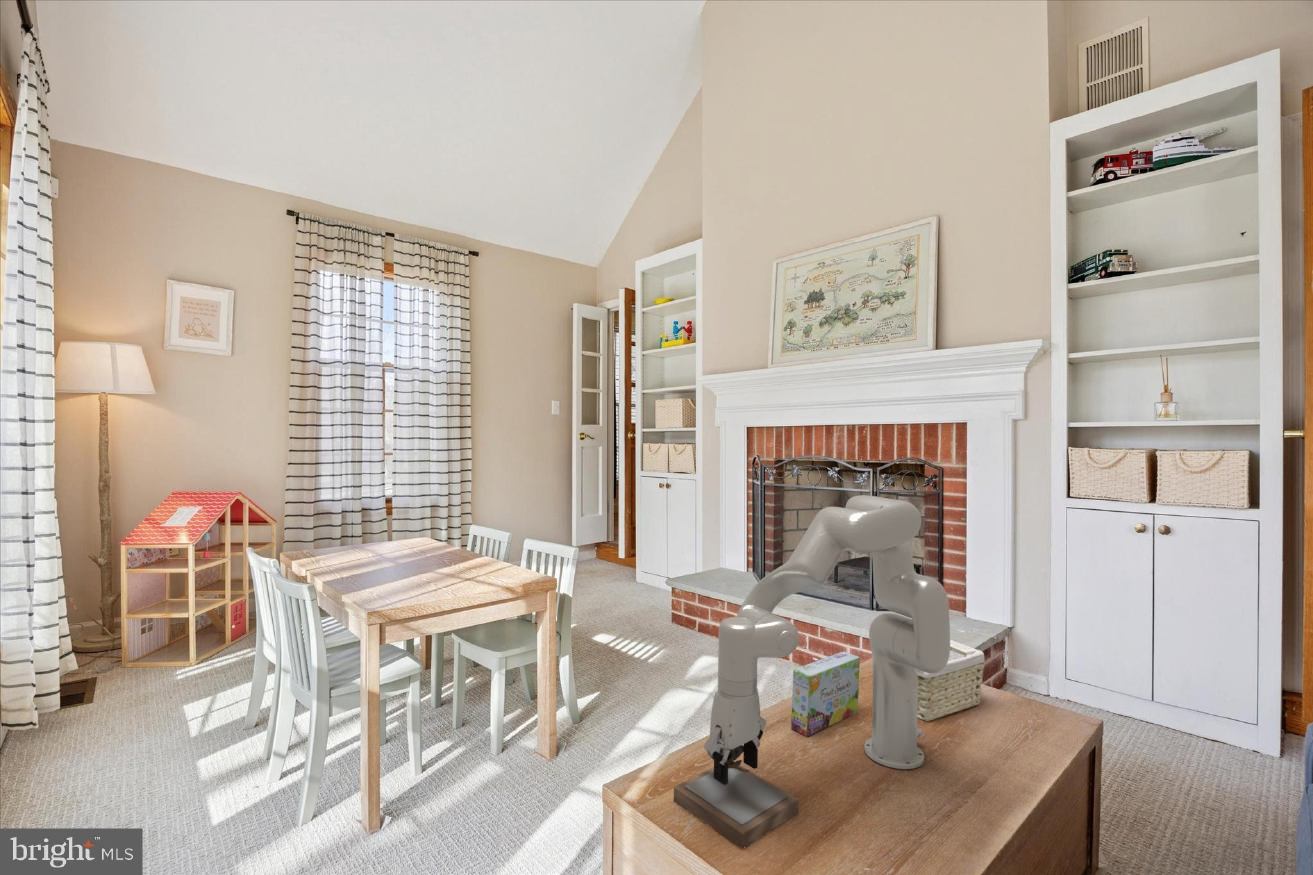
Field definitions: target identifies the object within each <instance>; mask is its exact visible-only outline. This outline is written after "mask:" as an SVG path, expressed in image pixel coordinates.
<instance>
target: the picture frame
mask: <svg viewBox="0 0 1313 875" xmlns="http://www.w3.org/2000/svg"><path fill="white" fill-rule="evenodd" d="M738 767H740V768H743V769H747V768H746V767H744V766H742V765H741V764H740V765H739V766H738ZM799 800H800V799H799V798H798V797H796V796H795V795H793V794H791V793H789V792H787V791H786V790H784V789H782V788H781V787H779V786H777V785H775V783H772V782H770V781H769V780H767V779H765V778H763V777H761V776H760V775H757V774H756V773H754V772H752V771H751V770H749V772H742V771H740V770H738V769H734V768H732V769H731V768H729V769H728V784H726V785H724V784H722V783H720V782H719V781H717V780H716V779H714V766H713V767H711V768H709V769H707V770H705V771H703V772H701V773H699V774H697V775H695V776H693V777H691V778H689V779H687V780H685V781H683V782H681V783H680V784H679V783H678V784H677V785H676V786H673V801H674V802H675V803H676V804H678V805H679V806H681V807H682V808H683V809H685V810H686V811H687V812H689V813H690V812H691V813H690V814H692V815H693V816H695V817H696V818H698V819H699V820H700V819H701V820H700V821H702V820H703V821H702V822H704V823H705V824H706V825H707V824H708V825H707V826H709V827H710V826H711V829H713V830H715V832H718V833H719V834H720V835H721V836H723V837H724V838H726V839H728V840H729V841H730V842H732V843H733V844H734V845H736V846H737V847H738V848H740V847H741V848H740V849H741V850H743V848H744V847H745V848H747V847H748V846H750V845H751V844H753V843H755V842H756V841H758V840H759V839H761V838H762V837H764V836H765V835H766V833H767V834H768V833H770V832H771V831H773V830H774V829H776V828H778V827H779V826H781V825H782V824H783V823H785V822H786V821H788V820H790V819H791V818H792V817H794V816H796V815H797V814H799V808H800V807H799V804H800V803H799ZM769 831H770V832H769ZM749 844H750V845H749ZM745 848H744V849H745Z"/></svg>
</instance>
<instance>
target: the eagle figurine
mask: <svg viewBox="0 0 1313 875" xmlns="http://www.w3.org/2000/svg"><path fill="white" fill-rule="evenodd" d="M723 751H724V749H723V748H721V749H720V751H719V754H720V755H721V756H722V753H723ZM742 754H744V745H743V744H742V745H740V746H738V747H736V748H734V749H731V750H730V752H729V755H728V758H727V760H726V763H727V764H728V769H729V768H731V769H732V768H734V769H738V770H740V771H742V772H749V771H750V770H749V769H747V768H746V769H743V768H740V767H738V766H739V765H740V766H741V764H742V763H743V762H742V761H743V759H738V758H740V757H741V755H742Z"/></svg>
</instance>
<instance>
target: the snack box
mask: <svg viewBox="0 0 1313 875" xmlns="http://www.w3.org/2000/svg"><path fill="white" fill-rule="evenodd" d="M860 661H861V657H860V656H857V655H854V654H852V653H849V652H847V651H841V652H838V653H835V654H832V655H829V656H827V657H824V658H821V659H819V660H816V661H813V662H811V663H808V664H805V665H802V666H800V667H797V668H794V669H793V672H792V673H793V674H792V694H791V695H792V697H791V698H792V699H791V720H790V721H791V722H790V723H791V725H790V729H791V730H794V731H796V732H797V733H799V734H801V735H803V736H804V737H809V736H812V735H813V734H816V733H818V732H821V731H822V730H824V729H826V728H828V727H831V726H833V725H835V724H837V723H839V722H841V721H843V719H844V720H845V719H848V718H849V717H850V718H851V717H852V716H854V715H856V714H858V712H859V689H860V687H859V685H860V663H861V662H860Z"/></svg>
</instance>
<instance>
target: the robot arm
mask: <svg viewBox="0 0 1313 875" xmlns="http://www.w3.org/2000/svg"><path fill="white" fill-rule="evenodd" d="M921 525H922V517H921V513H920V511H919V509H918V508H917V507H916V506H915V505H914V504H912V503H911V502H908V501H906V500H900V499H894V498H893V499H892V498H886V497H881V496H876V495H875V496H874V495H868V494H867V495H864V494H861V495H854V496H852V497H850V498H849V499H848V500H847V502H846V505H845V507H840V506H827V507H826V506H825V507H824V508H822V509H821V510H820V511H818V512H817V513H816V515H815V517H814V518H813V520H812V521H811V523H810V525H809V526H808V528H807V529H806V531H805V532H804V535H803V536H802V538H801V539H800V541H799V543H798V544H797V546H796V547H795V549H794V551H793V552H792V554H791V555H790V557H789V559H788V560H787V561H786V562H785V563H784V564H782V565H781V566H778V567H777V568H775V569H773V571H771V572H769V573H768V574H767V575H766V576H764V577H762V578H761V580H759V581H758V582H757V583H756V584H755V585H754V586H753V587H752V589H751V590H750V592H749V593H748V595H747V596H746V597H745V599H744V601H743V602H742V604H741V605H740V608H739V610H738V612H737V614H736V616H733V617H732V616H731V617H727V618H724V619H723V620H721V622H720V623H719V627H718V650H717V651H718V652H717V653H718V655H717V657H718V659H717V662H718V664H717V666H718V667H717V691H715V692H714V696H713V701H712V705H711V712H710V714H711V716H710V725H709V737H708V739H707V740H706V741H705V743H704V745H703V747H704V750H705V751H706V753H707V755H708V756H709V757H710V758H711V759H712V760H713V767H714V779H716V780H717V781H719V782H720V783H722V784H724V785H726V784H728V764H727V763H726V760H727V758H728V755H729V752H730V750H731V749H734V748H736V747H738V746H740V745H742V746H744V752H743V753H742V754H743V756H742V757H743V759H742V761H743V762H742V763H744V764H745V765H746V766H748V767H751V768H752V769H754V770H756V769H758V766H759V764H758V762H759V761H758V760H759V759H758V756H759V747H760V745H761V739H762V737H763V735H764V730H765V727H766V724H767V719H765V718H763V717H762V716H761V709H760V708H761V704H760V696H759V695H760V694H759V691H758V690H759V689H758V659H760V658H767V659H770V658H771V659H772V658H773V659H774V658H775V659H778V658H784V657H788V656H789V655H791V654H792V653H794V652H795V650H796V649H797V648H798V647H799V642H800V635H799V631H798V629H797V627H796V626H795V625H794V624H793V623H792V622H791V621H789V620H788V619H785V618H784V617H781V616H779V615H777V614H775V613H774V610H775V608H777V606H778V604H780V603H781V602H782V601H783V600H784V599H786V598H787V597H790V596H792V595H794V594H797V593H801V592H805V591H810V590H815V589H818V588H821V587H823V586H824V585H825V584H826V583H827V581H828V579H829V578H830V575H832V573H833V571H834V568H835V567H836V566H837V563H838V562H839V560H840V559H841V557H842V555H843V553H844V552H845V551H847V552H851V553H854V554H860V555H868V554H871V557H872V558H871V559H872V574H873V575H872V578H873V593H874V598H875V601H876V603H877V604H878V605H879V606H880V607H882V608H884V609H886V610H887V611H890V612H893V613H890V612H889V613H888V612H887V613H882V614H879V615H878V616H876V617H875V618H874V619H873V620H872V622H871V623H870V627H869V630H868V639H869V646H870V649H871V650H870V651H871V656H872V703H871V704H872V710H871V712H872V713H871V714H872V715H871V737H870V738H868V739H866V741H865V742H864V752H865V754H866V755H867V756H868V757H869V758H870V759H871V760H873V762H875V763H878V764H880V765H883V766H885V767H888V768H892V769H898V770H913V769H916V768H919V767H920V766H922V765H924V762H925V755H924V752H923V750H922V749H921V748H920V747H919V746H918V744H917V743H918V739H919V738H920V737H921V736H923V735H924V731H923V729H922V728H921V727H918V718H917V713H918V677H917V673H916V669H918V670H920V671H923V672H926V673H937V672H940V671H941V670H943V669H944V667H945V666H946V664H947V662H948V659H949V658H950V654H951V650H950V640H951V627H950V626H951V625H950V623H951V622H950V604H949V596H948V594H947V591H946V589H945V587H944V586H943V585H942V584H941V582H939V581H938V580H937V579H935V578H933V577H930V576H927V575H923V574H919V573H917V572H916V570H915V566H914V558H913V557H914V556H913V549H912V544H911V540H912V539H914V538H915V537H916V536H917V535H918V533H919V532H920V529H921ZM915 668H916V669H915ZM721 748H723V749H724V751H723V753H722V756H721V755H720V754H719V751H720V749H721Z"/></svg>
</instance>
